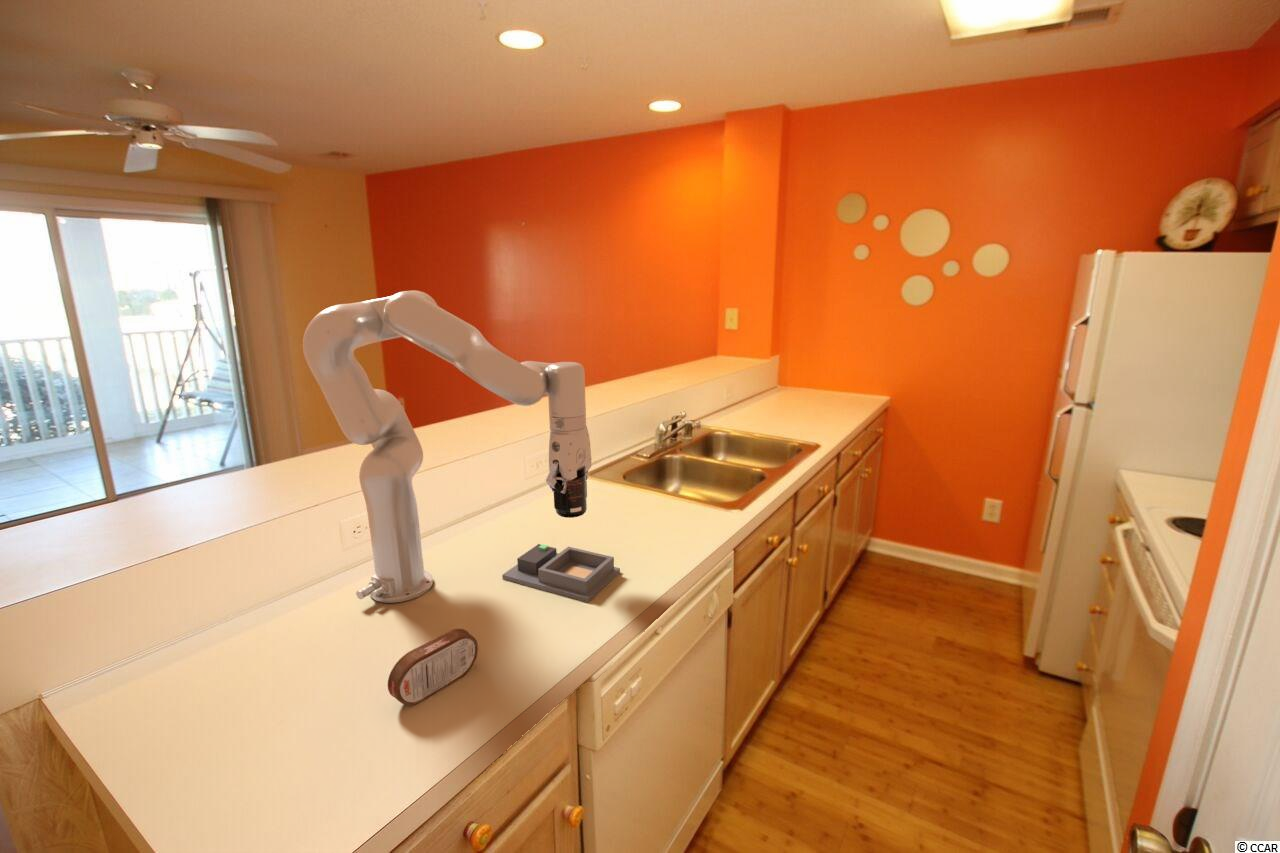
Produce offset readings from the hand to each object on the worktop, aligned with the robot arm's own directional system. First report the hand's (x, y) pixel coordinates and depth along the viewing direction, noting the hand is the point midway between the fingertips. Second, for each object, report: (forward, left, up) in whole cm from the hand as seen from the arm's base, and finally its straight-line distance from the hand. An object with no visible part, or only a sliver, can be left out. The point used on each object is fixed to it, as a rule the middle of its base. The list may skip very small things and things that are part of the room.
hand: (571, 502), depth 124 cm
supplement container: (0, 0, -2) cm, 2 cm away
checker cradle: (0, +3, -18) cm, 18 cm away
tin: (-40, +1, -18) cm, 44 cm away
